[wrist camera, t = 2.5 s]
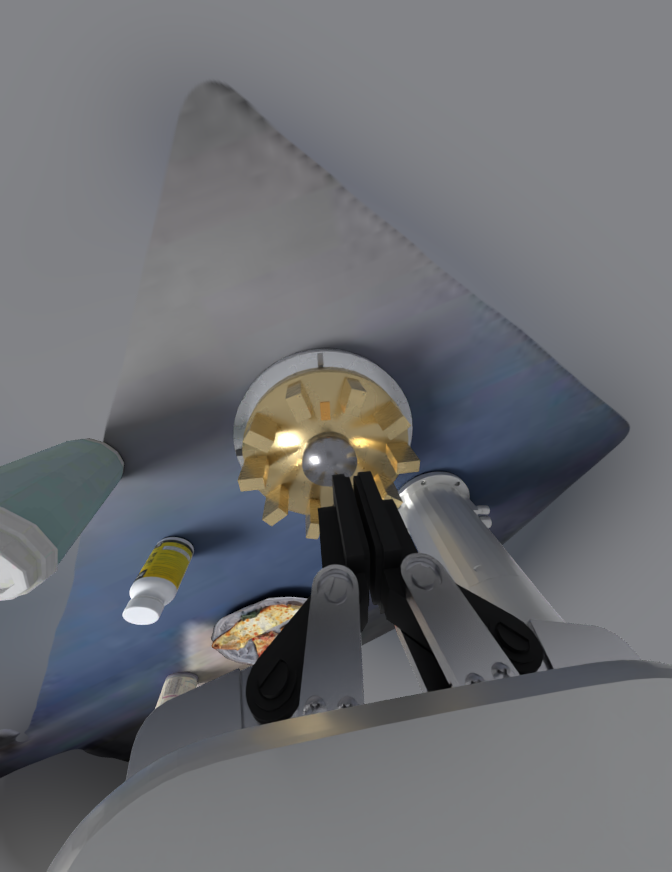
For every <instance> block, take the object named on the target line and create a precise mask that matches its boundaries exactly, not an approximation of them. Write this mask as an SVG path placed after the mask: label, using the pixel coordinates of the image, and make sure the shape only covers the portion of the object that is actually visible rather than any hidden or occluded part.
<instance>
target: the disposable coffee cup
mask: <svg viewBox="0 0 672 872" xmlns="http://www.w3.org/2000/svg"><path fill="white" fill-rule="evenodd" d="M123 468H124V462H123V460H122V458H121V457H120V455H119V453H118V452H117V451H116V450H114V449H113V448H112V447H110V446H109V445H108V444H106V443H104V442H100V441H97V440H93V439H90V438H89V439H80V440H73V441H66V442H64V443H61V444H58V445H56V446H53V447H51V448H48V449H45V450H43V451H40V452H37V453H35V454H32V455H29V456H27V457H24V458H22V459H19V460H16V461H14V462H11V463H8V464H6V465H3V466H0V601H1V600H10V599H14V598H16V597H17V596H19V595H25V594H28V593H29V592H30V591H32V590H33V589H34V588H35V587H37V586H38V585H40V584H41V583H42V582H44V581H45V580H46V579H47V578H48V577H50V576H51V575H52V574H54V573H55V572H56V571H57V565H58V564H59V563H60V561H61V560H62V559H63V557H64V556H65V554H66V553H67V552H68V550H69V549H70V548H71V546H72V545H73V544H74V542H75V541H76V539H77V538H78V537H79V535H80V534H81V533H82V531H83V530H84V529H85V527H86V526H87V524H88V523H89V522H90V520H91V519H92V518H93V516H94V515H95V514H96V512H97V511H98V509H99V508H100V507H101V505H102V504H103V503H104V501H105V500H106V499H107V497H108V496H109V494H110V493H111V492H112V490H113V489H114V488H115V486H116V485H117V484H118V482H119V481H120V479H121V478H122V474H123Z"/></svg>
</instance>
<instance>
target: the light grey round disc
mask: <svg viewBox="0 0 672 872" xmlns="http://www.w3.org/2000/svg"><path fill="white" fill-rule="evenodd" d="M317 367H338V368H345V369H349V370H352V371H356V372H358V373H360V374H363V375H365V376H367V377H368V378H370V379H372V380H373V381H375V382H376V383H377V384H379V385H380V386H381V387H382V388H383V389H384V390H385V391H386V392H387V393H388V395H389V396H390V397H391V398H392V399H393V400H394V401H395V402H396V404H397V405H398V407H399V408H400V410H401V412H402V414H403V415H404V416H405V418H406V419H407V421H408V422H409V423H410V425H411V426H410V427H409V428H407V429H408V445H409V446H410V444H411V439H412V429H413V427H412V416H411V411H410V407H409V405H408V402H407V399H406V397H405V395H404V394H403V392H402V390H401V388H400V387H399V386H398V384H397V383H396V382H395V381H394V379H393V378H391V377H390V376H389V375H388V374H387V373H386V372H385V371H384V370H383V369H382V368H381V367H379V366H378V365H376V364H375V363H373V362H372V361H370V360H368V359H366V358H364V357H362V356H360V355H358V354H355V353H352V352H349V351H344V350H338V349H324V348H322V349H311V350H306V351H302V352H297V353H295V354H292V355H290V356H287V357H285V358H283V359H281V360H279V361H277V362H275V363H274V364H272V365H271V366H270V367H268V368H267V369H266V370H264V371H263V372H262V373H261V374H260V375H259V376H258V377H257V378H256V379H255V381H254V382H253V383H252V385H251V386H250V387H249V389H248V390H247V392H246V394H245V395H244V397H243V399H242V401H241V403H240V405H239V408H238V411H237V413H236V416H235V422H234V428H233V440H234V447H235V452H236V455H237V458H238V461H239V463H240V465H241V467H243V464H244V460H243V454H242V443H243V436H244V432H245V428H246V425H247V423H248V420H249V418H250V416H251V414H252V412H253V409H254V407H255V406H256V404H257V403H258V401H259V400H260V398H261V397H262V396H263V395H264V394H265V393H266V392H267V391H268V389H270V388H271V387H272V386H273V385H275V384H276V383H277V382H279V381H280V380H282V379H284V378H285V377H287V376H289V375H291V374H294V373H296V372H299V371H302V370H306V369H310V368H317Z"/></svg>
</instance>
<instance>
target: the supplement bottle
mask: <svg viewBox="0 0 672 872" xmlns="http://www.w3.org/2000/svg"><path fill="white" fill-rule="evenodd" d="M193 553H194V548H193V546H192V544H191V543H190V542H189V541H187V540H185V539H182V538H178V537H168V538H164V539H162V540H161V541H159V542H158V543H157V545H156V546H155V548H154V550H153V551H152V553H151V555H150V556H149V558H148V560H147V561H146V563H145V565H144V566H143V568H142V570H141V571H140V573H139V575H138V576H137V578H136V580H135V581H134V583H133V585H132V587H131V589H130V597H131V600H130V601H129V603H128V604H127V606H126V608H125V610H124V612H123V617H124V619H125V620H126V621H128V622H130V623H133V624H138V625H147V624H152V623H154V622H156V621H157V620H158V619H159V617H160V615H161V613H162V611H163V608H164V605H166V604H168V603H169V602H171V601H172V600H173V599H174V597H175V595H176V593H177V590H178V588H179V586H180V583H181V581H182V579H183V577H184V574H185V572H186V570H187V567H188V565H189V563H190V561H191V558H192V556H193Z"/></svg>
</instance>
